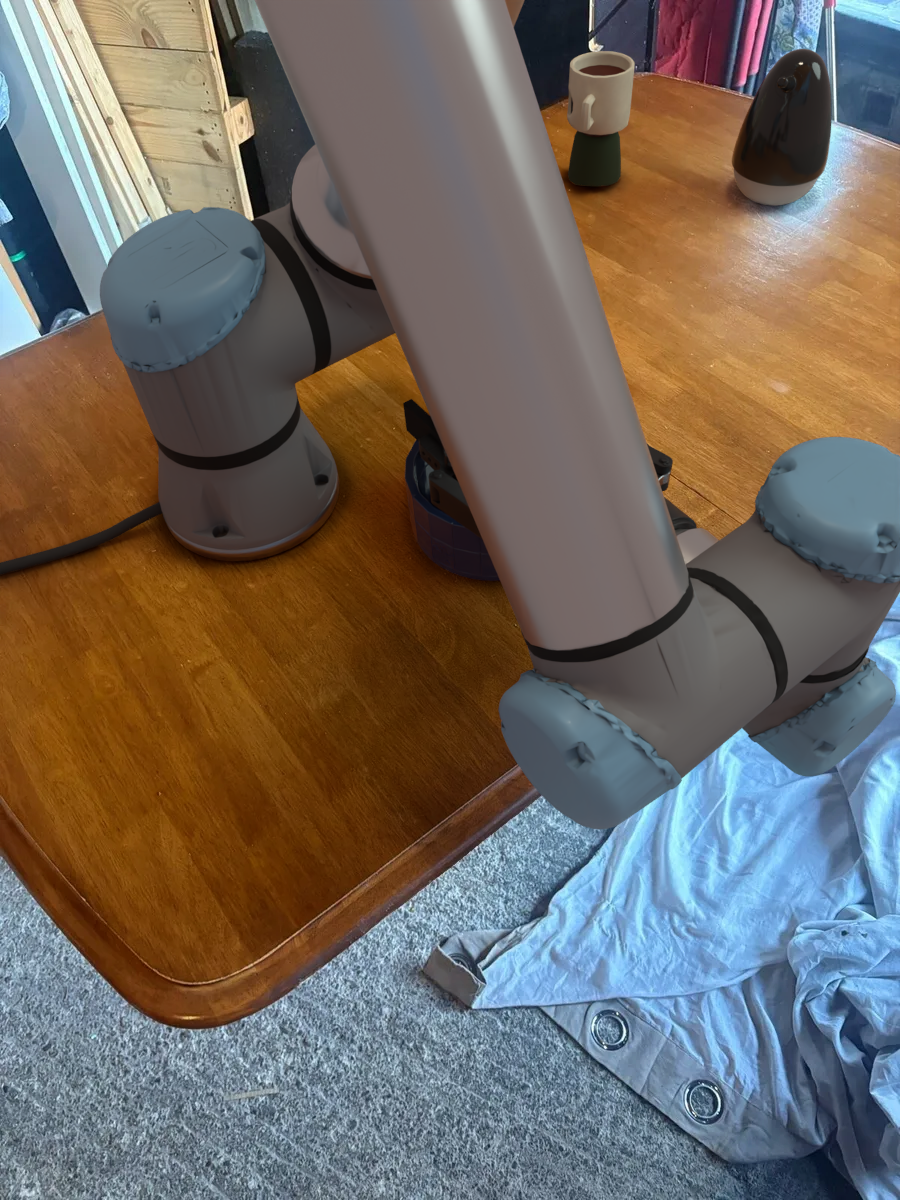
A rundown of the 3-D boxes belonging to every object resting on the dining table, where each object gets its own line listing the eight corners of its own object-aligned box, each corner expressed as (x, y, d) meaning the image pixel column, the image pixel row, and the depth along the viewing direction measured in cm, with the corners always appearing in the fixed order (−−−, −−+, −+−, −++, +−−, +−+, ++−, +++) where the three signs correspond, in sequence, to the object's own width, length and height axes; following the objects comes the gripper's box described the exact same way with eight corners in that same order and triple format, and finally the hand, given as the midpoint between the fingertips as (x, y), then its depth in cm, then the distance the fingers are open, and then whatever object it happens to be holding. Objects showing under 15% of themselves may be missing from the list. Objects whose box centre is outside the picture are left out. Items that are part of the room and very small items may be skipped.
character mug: (580, 155, 112) (586, 40, 101) (635, 163, 110) (647, 47, 99) (550, 197, 106) (554, 80, 96) (608, 207, 104) (618, 88, 93)
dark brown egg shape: (710, 204, 103) (735, 60, 91) (746, 165, 108) (775, 24, 96) (795, 226, 99) (834, 80, 87) (829, 185, 104) (870, 41, 92)
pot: (476, 609, 69) (473, 558, 64) (380, 507, 76) (371, 455, 71) (611, 527, 73) (618, 474, 68) (509, 438, 80) (508, 385, 76)
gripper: (532, 684, 57) (348, 485, 69) (760, 535, 63) (555, 377, 75) (535, 613, 51) (332, 409, 63) (786, 457, 57) (559, 299, 69)
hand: (454, 392), depth 69 cm, fingers closed on canned tomato, 8 cm apart
